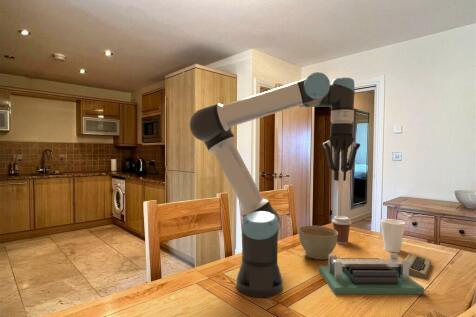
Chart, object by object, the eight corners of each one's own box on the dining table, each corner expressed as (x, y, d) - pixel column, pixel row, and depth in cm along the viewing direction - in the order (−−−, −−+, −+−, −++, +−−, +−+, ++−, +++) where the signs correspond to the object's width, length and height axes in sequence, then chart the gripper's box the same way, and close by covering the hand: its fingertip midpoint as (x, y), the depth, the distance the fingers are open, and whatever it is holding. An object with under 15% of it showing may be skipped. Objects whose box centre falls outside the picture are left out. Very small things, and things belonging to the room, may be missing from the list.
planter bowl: (341, 264, 106) (341, 237, 105) (299, 261, 108) (299, 235, 108) (333, 250, 121) (334, 226, 121) (297, 247, 124) (297, 224, 124)
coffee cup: (335, 244, 128) (335, 219, 128) (328, 238, 137) (329, 215, 137) (354, 244, 128) (354, 219, 128) (346, 238, 138) (346, 215, 137)
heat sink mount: (338, 287, 86) (338, 264, 86) (326, 270, 98) (326, 250, 98) (413, 287, 86) (413, 264, 86) (391, 271, 98) (392, 250, 98)
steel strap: (334, 267, 90) (334, 262, 90) (330, 262, 94) (330, 258, 94) (404, 267, 90) (404, 262, 90) (397, 262, 94) (397, 258, 94)
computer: (425, 280, 94) (426, 270, 94) (399, 273, 100) (399, 264, 99) (431, 266, 106) (431, 257, 106) (407, 260, 111) (407, 252, 111)
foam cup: (404, 248, 123) (405, 220, 123) (404, 255, 116) (405, 225, 115) (381, 244, 128) (381, 217, 128) (379, 250, 121) (380, 222, 120)
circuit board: (334, 293, 84) (334, 287, 84) (318, 271, 100) (318, 265, 100) (423, 294, 84) (424, 287, 84) (394, 271, 100) (394, 266, 100)
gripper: (326, 121, 91) (324, 191, 92) (365, 122, 91) (362, 191, 92) (320, 124, 99) (318, 187, 99) (355, 124, 99) (353, 188, 99)
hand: (339, 189), depth 96 cm, fingers closed
